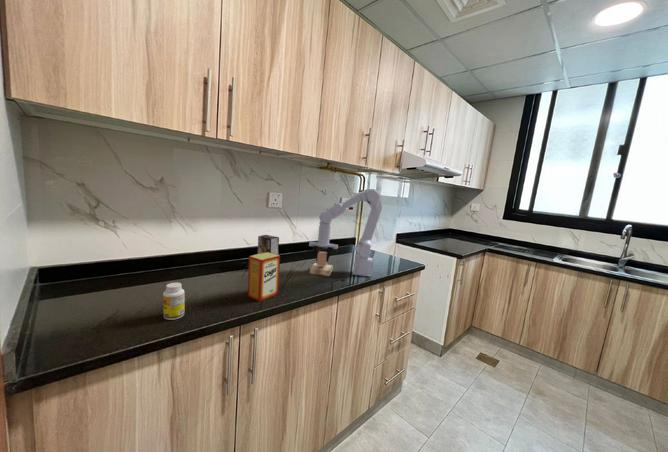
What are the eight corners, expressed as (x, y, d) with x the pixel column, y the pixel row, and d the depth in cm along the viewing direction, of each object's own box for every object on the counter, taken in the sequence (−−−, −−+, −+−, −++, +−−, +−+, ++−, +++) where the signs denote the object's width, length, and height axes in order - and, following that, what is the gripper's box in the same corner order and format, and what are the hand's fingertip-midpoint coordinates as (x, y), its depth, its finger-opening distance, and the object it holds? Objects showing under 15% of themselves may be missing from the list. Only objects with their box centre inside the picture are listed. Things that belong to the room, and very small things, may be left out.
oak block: (332, 270, 137) (332, 265, 137) (329, 276, 127) (329, 270, 127) (314, 268, 138) (314, 263, 138) (309, 274, 129) (310, 268, 128)
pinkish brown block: (327, 263, 134) (327, 252, 133) (325, 265, 130) (326, 254, 129) (318, 262, 135) (319, 251, 134) (316, 264, 130) (317, 253, 129)
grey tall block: (278, 267, 134) (280, 237, 132) (270, 270, 129) (271, 238, 126) (265, 263, 138) (266, 234, 136) (256, 266, 133) (257, 235, 130)
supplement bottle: (163, 314, 80) (162, 282, 79) (183, 310, 83) (183, 280, 82) (163, 322, 76) (163, 289, 74) (185, 318, 79) (185, 286, 77)
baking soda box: (266, 289, 105) (268, 251, 103) (278, 293, 102) (280, 254, 100) (247, 296, 97) (249, 255, 95) (259, 301, 94) (261, 259, 92)
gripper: (308, 234, 127) (306, 261, 129) (337, 238, 125) (335, 264, 127) (311, 232, 134) (309, 257, 136) (339, 235, 132) (336, 261, 134)
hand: (322, 261), depth 132 cm, fingers closed on pinkish brown block, 4 cm apart
